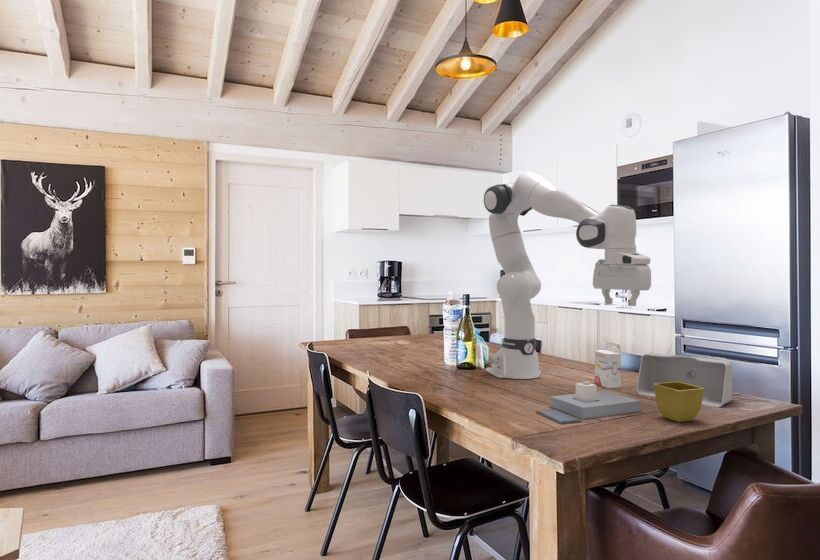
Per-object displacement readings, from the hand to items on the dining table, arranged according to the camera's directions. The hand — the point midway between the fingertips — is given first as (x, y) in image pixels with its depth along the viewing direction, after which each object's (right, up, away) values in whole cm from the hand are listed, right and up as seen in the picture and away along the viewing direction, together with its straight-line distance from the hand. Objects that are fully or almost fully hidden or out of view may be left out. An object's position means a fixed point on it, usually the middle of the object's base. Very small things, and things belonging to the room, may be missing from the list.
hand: (620, 304), depth 162 cm
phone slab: (-23, -30, -17) cm, 41 cm away
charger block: (-13, -29, -9) cm, 33 cm away
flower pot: (+8, -30, -19) cm, 36 cm away
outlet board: (-10, -29, -8) cm, 32 cm away
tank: (+24, -29, +8) cm, 38 cm away
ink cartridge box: (+5, -29, +23) cm, 37 cm away
